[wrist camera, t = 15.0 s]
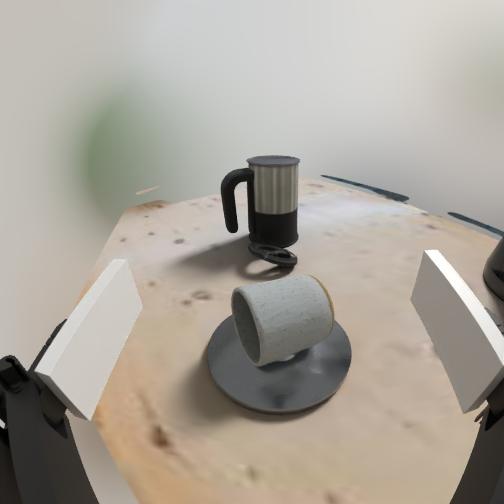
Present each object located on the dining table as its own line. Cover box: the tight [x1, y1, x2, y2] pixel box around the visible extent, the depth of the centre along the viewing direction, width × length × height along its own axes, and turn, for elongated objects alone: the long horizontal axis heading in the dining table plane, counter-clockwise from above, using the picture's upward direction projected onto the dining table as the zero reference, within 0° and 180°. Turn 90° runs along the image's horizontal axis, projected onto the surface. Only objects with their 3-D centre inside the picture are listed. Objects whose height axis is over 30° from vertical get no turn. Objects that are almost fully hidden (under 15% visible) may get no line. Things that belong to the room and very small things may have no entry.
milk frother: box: [221, 156, 300, 267], centre depth 46 cm, size 14×16×15 cm
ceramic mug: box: [231, 275, 334, 367], centre depth 28 cm, size 11×8×8 cm
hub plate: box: [207, 314, 351, 415], centre depth 28 cm, size 15×15×1 cm
